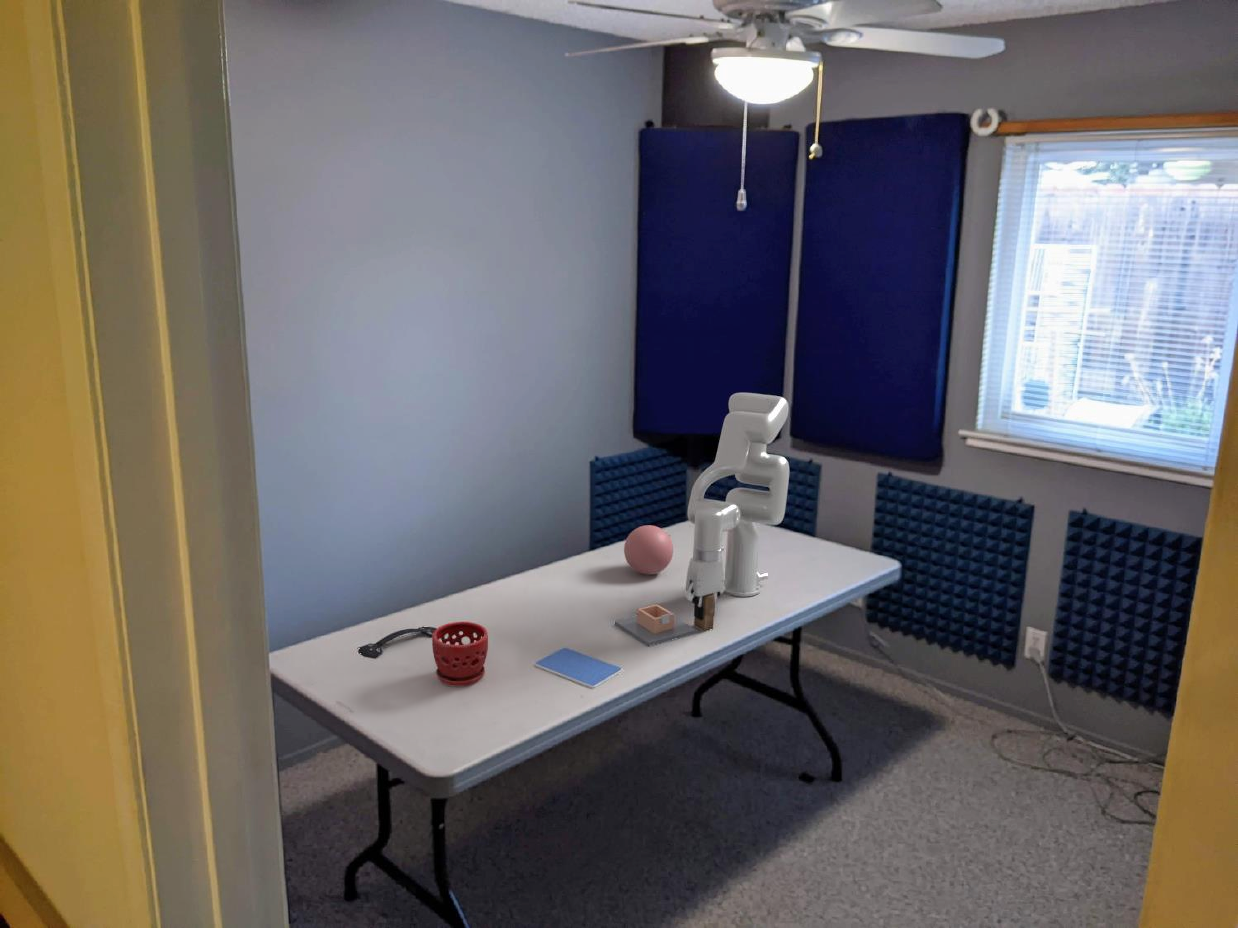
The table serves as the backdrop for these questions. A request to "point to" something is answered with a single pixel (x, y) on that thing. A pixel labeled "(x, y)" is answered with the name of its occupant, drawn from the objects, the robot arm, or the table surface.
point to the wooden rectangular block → (706, 613)
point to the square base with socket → (655, 625)
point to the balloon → (648, 549)
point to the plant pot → (460, 653)
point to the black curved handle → (376, 650)
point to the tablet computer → (578, 667)
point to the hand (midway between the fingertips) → (704, 616)
